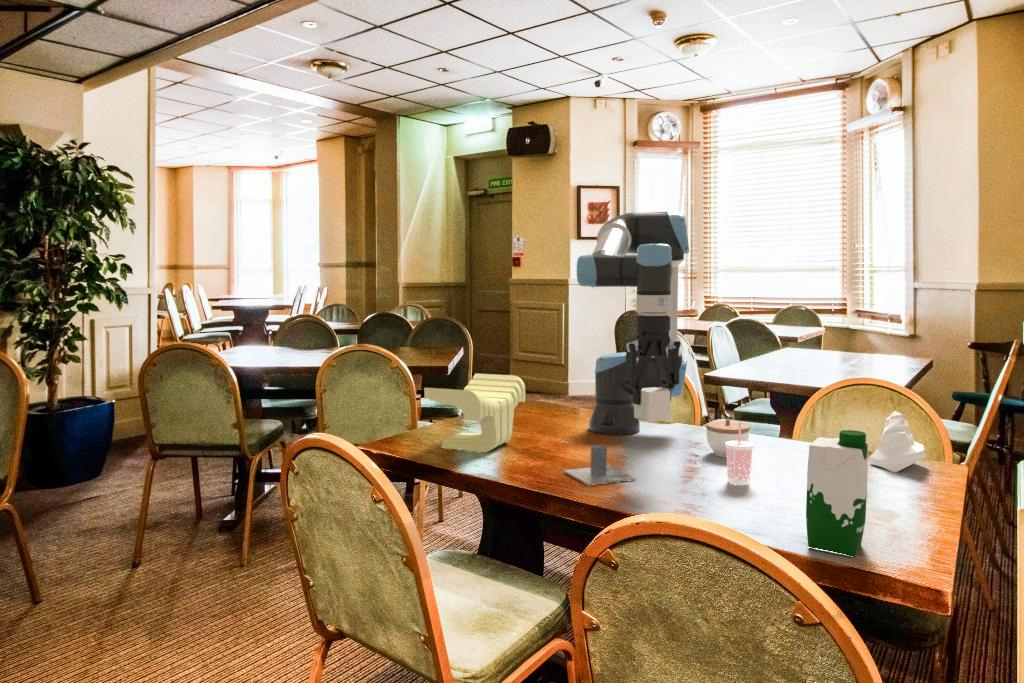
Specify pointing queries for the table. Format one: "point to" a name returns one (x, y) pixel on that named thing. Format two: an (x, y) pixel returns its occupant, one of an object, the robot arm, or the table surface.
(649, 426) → the table surface
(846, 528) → the milk carton
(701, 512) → the table surface
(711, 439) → the lidded jar
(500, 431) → the slatted curved stool
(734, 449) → the beverage cup
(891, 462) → the soft serve ice cream
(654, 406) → the cream cube
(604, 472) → the square grey base plate
